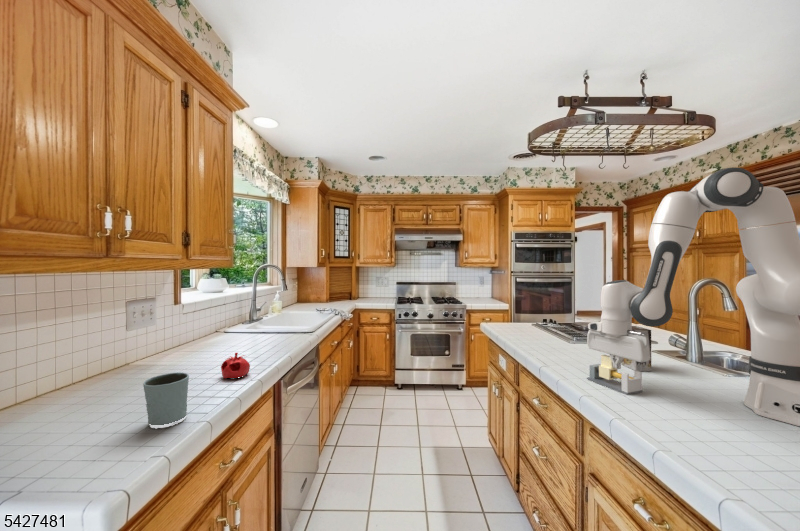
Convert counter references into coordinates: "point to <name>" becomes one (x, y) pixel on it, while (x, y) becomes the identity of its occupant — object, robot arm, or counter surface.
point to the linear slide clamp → (627, 385)
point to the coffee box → (634, 364)
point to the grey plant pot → (166, 397)
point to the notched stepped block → (606, 368)
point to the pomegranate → (235, 367)
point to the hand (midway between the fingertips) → (616, 368)
